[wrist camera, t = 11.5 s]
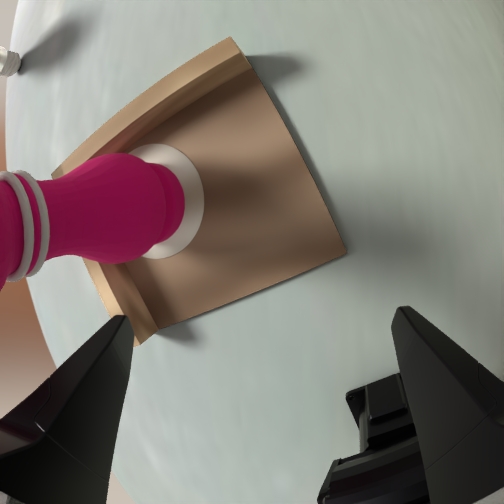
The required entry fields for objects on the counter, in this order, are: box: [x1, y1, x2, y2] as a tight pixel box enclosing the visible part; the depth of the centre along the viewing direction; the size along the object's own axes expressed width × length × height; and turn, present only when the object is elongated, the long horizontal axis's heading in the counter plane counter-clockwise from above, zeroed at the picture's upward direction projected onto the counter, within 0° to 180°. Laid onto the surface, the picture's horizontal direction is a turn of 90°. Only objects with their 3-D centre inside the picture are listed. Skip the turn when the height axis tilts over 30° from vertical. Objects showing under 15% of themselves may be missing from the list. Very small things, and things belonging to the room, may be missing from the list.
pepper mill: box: [0, 153, 185, 291], centre depth 14 cm, size 7×7×20 cm
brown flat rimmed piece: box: [51, 37, 347, 347], centre depth 22 cm, size 16×18×4 cm
